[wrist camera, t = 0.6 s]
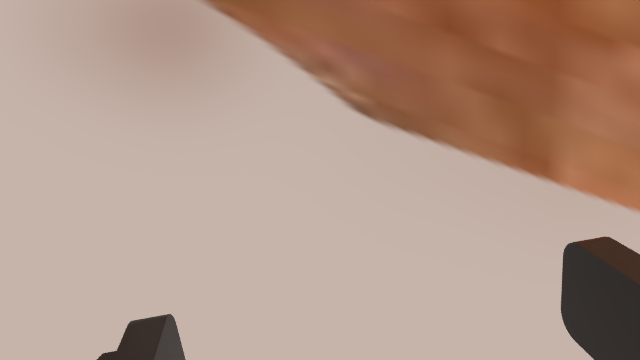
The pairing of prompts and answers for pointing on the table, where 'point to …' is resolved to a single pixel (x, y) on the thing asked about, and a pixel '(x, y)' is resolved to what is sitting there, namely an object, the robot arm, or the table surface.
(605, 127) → the table surface
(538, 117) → the table surface
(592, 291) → the robot arm
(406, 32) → the table surface
